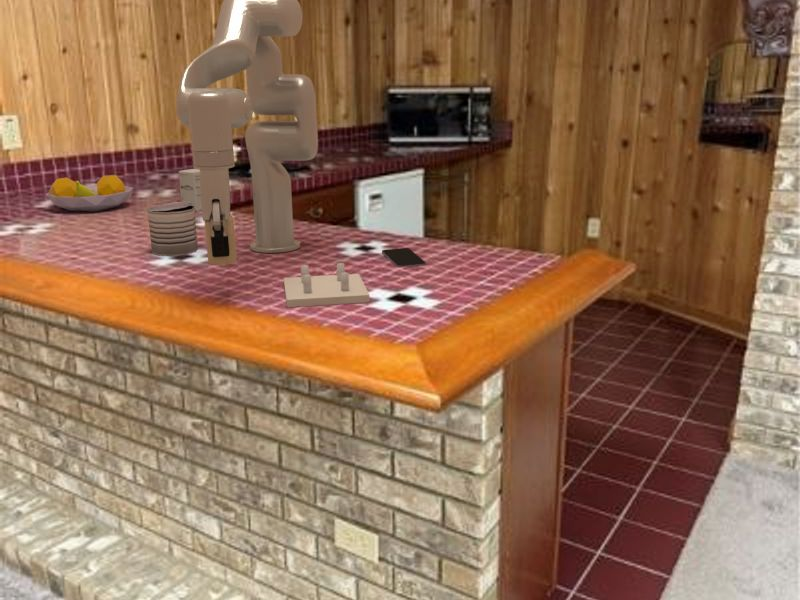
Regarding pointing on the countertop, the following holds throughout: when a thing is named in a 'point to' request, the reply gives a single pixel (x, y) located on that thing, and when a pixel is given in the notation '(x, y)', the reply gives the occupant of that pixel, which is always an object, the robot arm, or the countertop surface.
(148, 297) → the countertop surface
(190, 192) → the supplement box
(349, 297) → the plate
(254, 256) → the countertop surface
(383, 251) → the smartphone
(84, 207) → the fruit bowl
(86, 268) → the countertop surface
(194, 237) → the can
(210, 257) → the candle
